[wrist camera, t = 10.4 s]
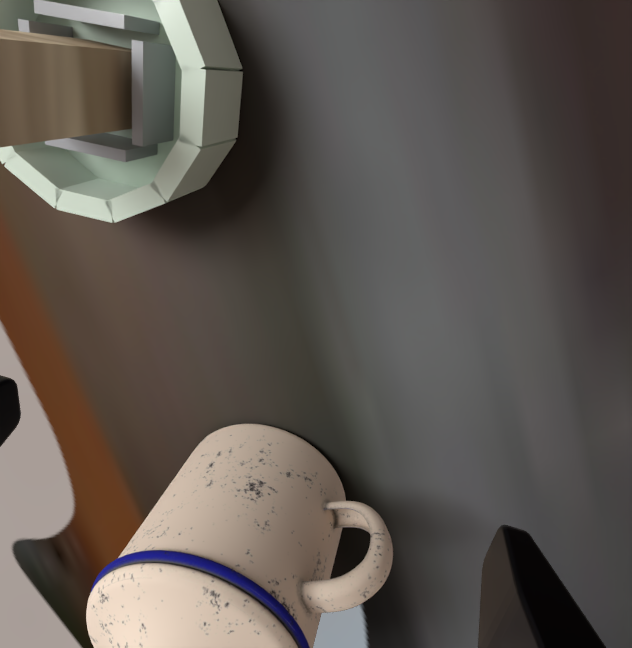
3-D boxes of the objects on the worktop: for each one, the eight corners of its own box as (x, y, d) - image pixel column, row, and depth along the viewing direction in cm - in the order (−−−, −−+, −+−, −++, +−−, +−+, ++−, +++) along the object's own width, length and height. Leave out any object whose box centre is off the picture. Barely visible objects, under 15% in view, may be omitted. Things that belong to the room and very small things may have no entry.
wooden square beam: (151, 53, 18) (-36, 35, 11) (148, 126, 20) (-22, 150, 13) (88, 39, 19) (-131, 13, 12) (89, 112, 20) (-110, 128, 13)
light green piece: (252, -39, 17) (213, -63, 14) (230, 221, 21) (196, 243, 18) (16, -75, 18) (-63, -104, 16) (38, 177, 23) (-21, 190, 20)
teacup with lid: (233, 559, 30) (119, 805, 20) (158, 435, 27) (-18, 646, 17) (432, 535, 26) (419, 834, 16) (368, 384, 23) (299, 626, 13)
